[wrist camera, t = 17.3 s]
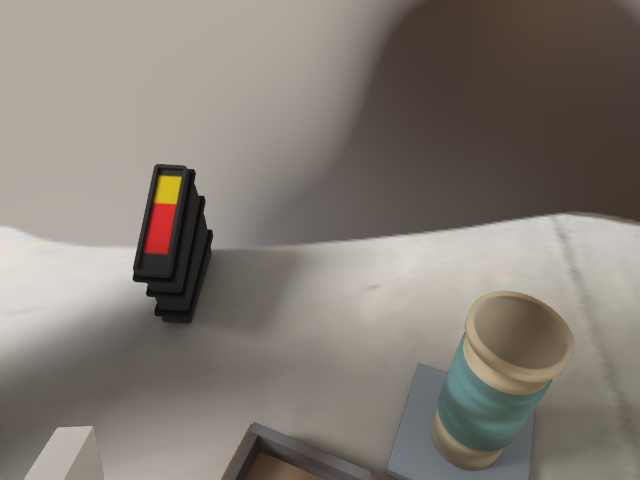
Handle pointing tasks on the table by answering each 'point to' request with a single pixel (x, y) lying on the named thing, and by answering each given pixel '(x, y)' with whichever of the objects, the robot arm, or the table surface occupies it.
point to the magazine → (173, 243)
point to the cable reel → (498, 376)
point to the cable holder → (286, 460)
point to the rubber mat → (423, 458)
